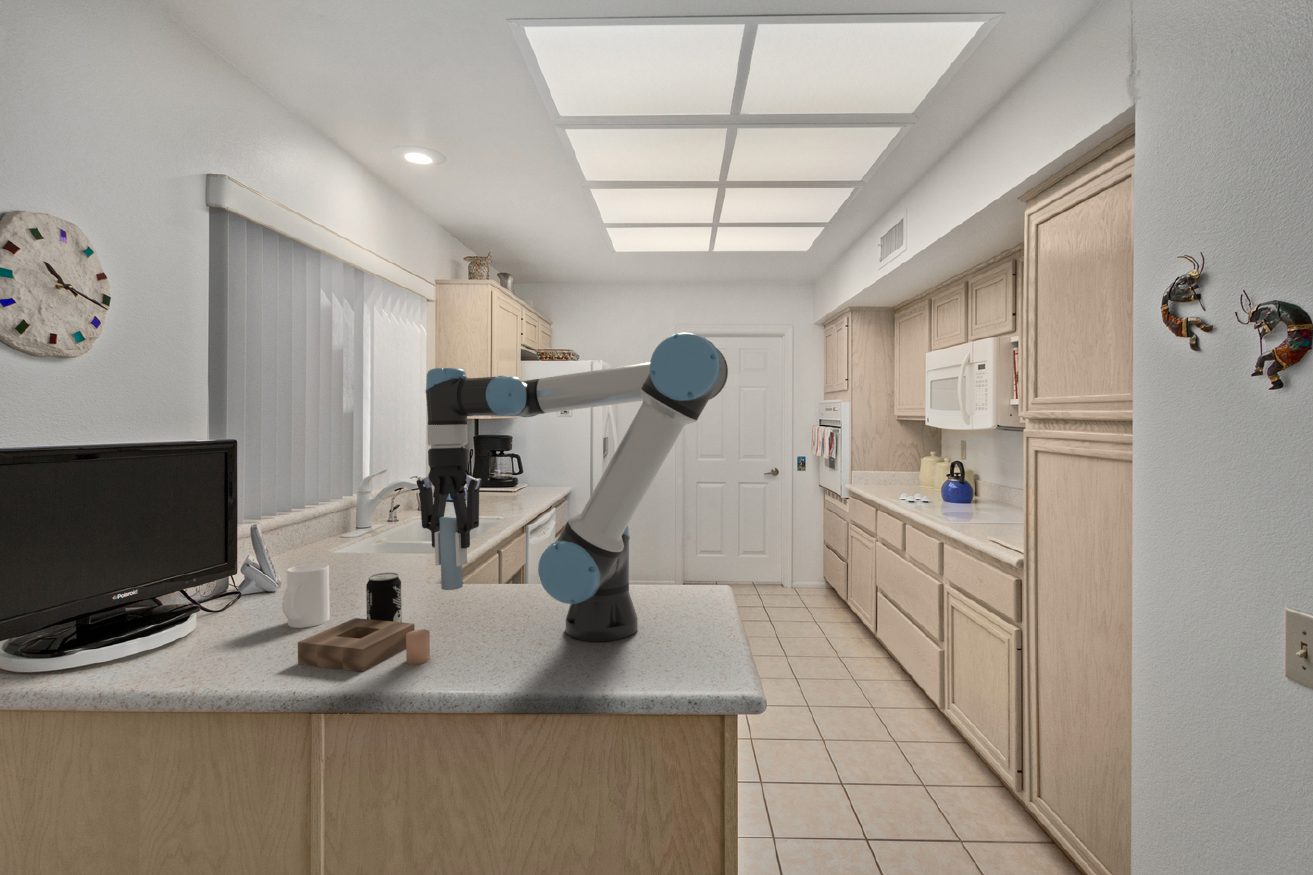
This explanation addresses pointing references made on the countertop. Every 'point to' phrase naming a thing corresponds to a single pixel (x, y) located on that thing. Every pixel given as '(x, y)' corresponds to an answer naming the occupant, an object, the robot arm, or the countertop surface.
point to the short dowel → (417, 647)
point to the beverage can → (384, 597)
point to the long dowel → (449, 554)
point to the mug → (307, 595)
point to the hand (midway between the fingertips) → (451, 563)
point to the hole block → (354, 644)
